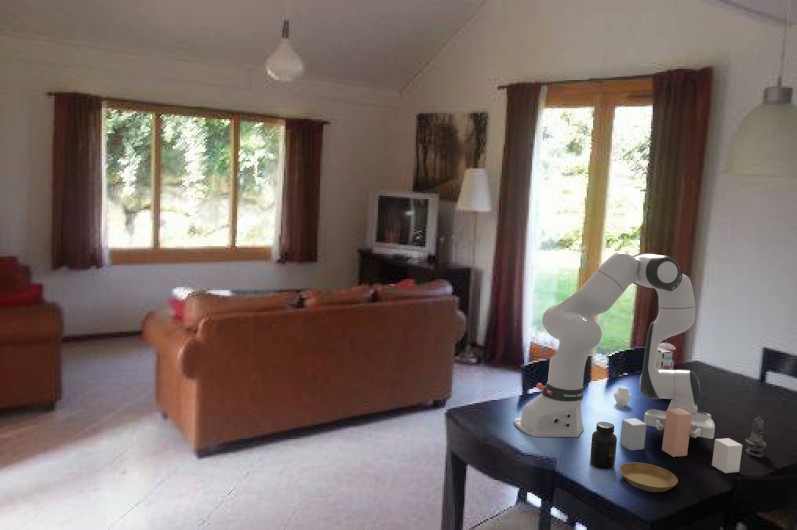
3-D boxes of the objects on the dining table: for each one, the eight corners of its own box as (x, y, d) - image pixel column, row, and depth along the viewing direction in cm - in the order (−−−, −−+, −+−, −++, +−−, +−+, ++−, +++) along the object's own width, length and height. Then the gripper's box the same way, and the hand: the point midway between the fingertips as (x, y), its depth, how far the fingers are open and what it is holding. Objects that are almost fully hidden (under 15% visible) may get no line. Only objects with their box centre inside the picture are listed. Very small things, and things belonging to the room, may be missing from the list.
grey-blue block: (630, 450, 195) (632, 425, 194) (619, 443, 199) (622, 419, 198) (643, 449, 196) (646, 424, 195) (633, 442, 201) (635, 418, 200)
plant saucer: (638, 466, 184) (639, 457, 184) (687, 487, 173) (688, 478, 172) (607, 478, 175) (608, 469, 175) (657, 501, 164) (658, 492, 163)
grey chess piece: (768, 458, 195) (773, 420, 193) (747, 455, 196) (752, 418, 194) (761, 450, 200) (766, 413, 199) (741, 447, 202) (746, 411, 200)
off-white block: (725, 473, 183) (728, 446, 182) (711, 465, 187) (715, 439, 186) (738, 471, 184) (742, 445, 183) (725, 464, 189) (728, 438, 188)
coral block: (673, 456, 192) (678, 415, 190) (661, 449, 196) (666, 409, 195) (686, 455, 193) (692, 414, 192) (675, 448, 198) (680, 408, 196)
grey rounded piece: (634, 406, 234) (636, 388, 234) (621, 408, 232) (623, 389, 231) (621, 401, 240) (623, 383, 239) (609, 402, 237) (611, 384, 236)
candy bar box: (669, 392, 254) (674, 352, 252) (658, 392, 252) (663, 352, 250) (650, 383, 264) (654, 344, 262) (640, 383, 263) (644, 345, 261)
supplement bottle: (609, 459, 187) (613, 420, 185) (618, 470, 180) (622, 429, 179) (586, 458, 187) (590, 419, 185) (593, 469, 180) (598, 428, 178)
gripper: (647, 401, 210) (641, 413, 198) (716, 415, 200) (714, 429, 188) (645, 419, 211) (639, 433, 198) (714, 434, 201) (712, 449, 189)
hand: (676, 431), depth 193 cm, fingers open, 8 cm apart
